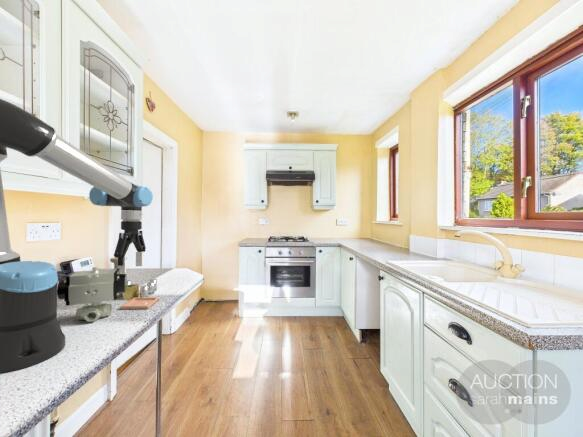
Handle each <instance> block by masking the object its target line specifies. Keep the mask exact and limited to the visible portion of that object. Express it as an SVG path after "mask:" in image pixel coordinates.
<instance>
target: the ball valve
mask: <svg viewBox="0 0 583 437" xmlns="http://www.w3.org/2000/svg"><path fill="white" fill-rule="evenodd" d="M98 268H99V267H98V266H94V267H92V268H91V269H92V270H80V271H71V272H70V273H69V274H68V275H66V276H65V277H64V278H61V279H60V280H58V282H57V300H58V299H59V300H63V301H64V302H65V306H67V307H68V306H75V305H76V306H77V305H82V306H81V307H80V306H79V307H77V308H76V312H75V319H76V320H77V321H79V320H82V321H86V322H87V323H89V322H91V323H92V322H95V321H97V320H99V319H100V318H106V317H107V316H110V315H112V307H113V306H112V303H106V302H109V301H116V300H117V301H118V298H119V297H118V296H119V294H120V293H125V292H126V287H127V280H128V278H127V273H123V274H122V273H121V272H120V269H114V268H109V269H108V268H107V269H98ZM102 302H103V303H102ZM83 304H84V305H83Z"/></svg>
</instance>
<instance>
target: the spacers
mask: <svg viewBox="0 0 583 437" xmlns="http://www.w3.org/2000/svg"><path fill="white" fill-rule="evenodd" d="M157 283H158V279H157V278H153V279H149V281H148V282H147V283H146V285H141V286H139V297H149V295H154V294H155V292H156V291H157V288H158V284H157ZM129 284H132V280H131V279H127V285H129ZM119 297H120V298H121V297H123V293H120V294H119V296H118V298H119Z"/></svg>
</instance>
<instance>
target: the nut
mask: <svg viewBox="0 0 583 437" xmlns="http://www.w3.org/2000/svg"><path fill="white" fill-rule="evenodd" d="M136 297H140V286H139V284H138V283H131V284H129V285H127V287H126V292H125V293H123V296H122V298H123V300H131V299H133V298H136Z"/></svg>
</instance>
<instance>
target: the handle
mask: <svg viewBox="0 0 583 437" xmlns="http://www.w3.org/2000/svg"><path fill="white" fill-rule="evenodd" d="M125 257H126V261H127V259H128V257H127V256H125ZM110 262H111V263H113V269H118V258H115V257H111V258H110ZM122 274H124V273H122Z"/></svg>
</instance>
